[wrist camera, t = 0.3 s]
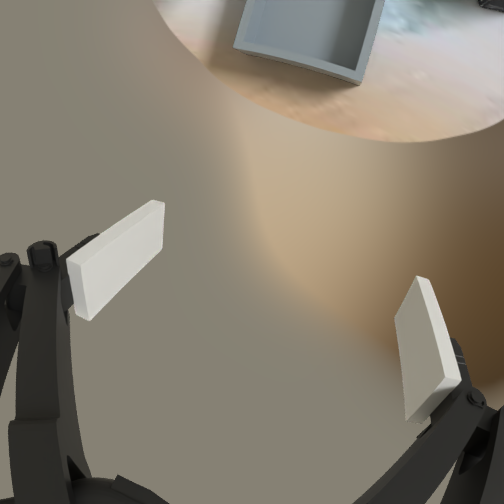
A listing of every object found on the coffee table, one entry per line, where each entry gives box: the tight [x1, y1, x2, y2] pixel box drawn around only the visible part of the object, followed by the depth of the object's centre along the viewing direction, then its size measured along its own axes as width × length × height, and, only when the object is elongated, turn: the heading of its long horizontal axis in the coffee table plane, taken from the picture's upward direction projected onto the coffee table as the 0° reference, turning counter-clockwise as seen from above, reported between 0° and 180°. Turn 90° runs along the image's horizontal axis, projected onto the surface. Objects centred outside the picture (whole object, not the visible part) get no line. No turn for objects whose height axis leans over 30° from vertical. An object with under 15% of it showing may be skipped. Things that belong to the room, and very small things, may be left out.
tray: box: [233, 0, 385, 86], centre depth 29 cm, size 16×15×5 cm
